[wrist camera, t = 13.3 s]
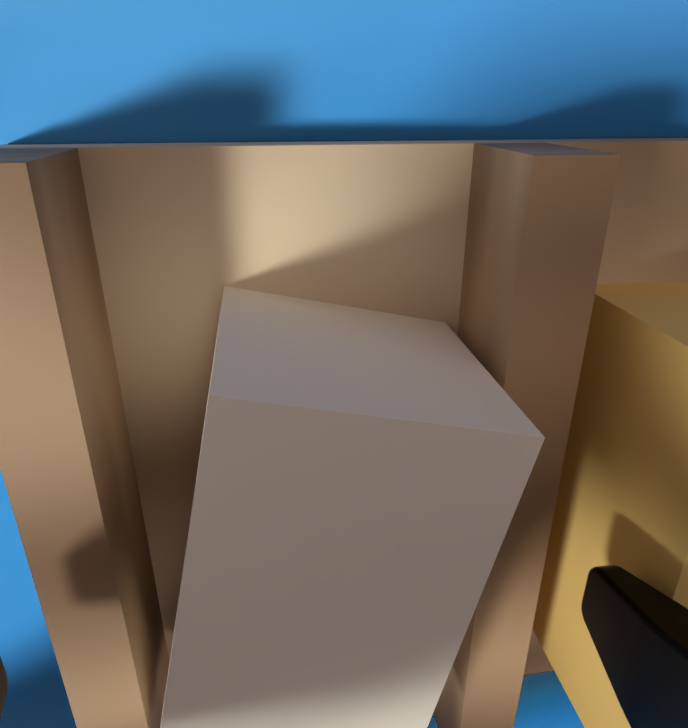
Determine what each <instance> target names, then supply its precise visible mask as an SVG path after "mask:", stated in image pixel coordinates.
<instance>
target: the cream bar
mask: <svg viewBox="0 0 688 728" xmlns="http://www.w3.org/2000/svg"><path fill="white" fill-rule="evenodd" d="M544 439H545V437H544V436H543V435H542V433H541V432H540V431H539V430H538V429H537V428H536V427H535V425H534V424H533V423H532V422H531V421H530V420H529V419H528V417H527V416H526V415H525V414H524V413H523V412H522V410H521V409H520V408H519V407H518V406H517V405H516V404H515V402H514V401H513V400H512V399H511V398H510V397H509V395H508V394H507V393H506V392H505V391H504V390H503V389H502V387H501V386H500V385H499V384H498V383H497V382H496V380H495V379H494V378H493V377H492V376H491V375H490V374H489V372H488V371H487V370H486V369H485V368H484V367H483V365H482V364H481V363H480V362H479V361H478V360H477V359H476V357H475V356H474V355H473V354H472V353H471V352H470V350H469V349H468V348H467V347H466V346H465V345H464V344H463V342H462V341H461V340H460V339H459V338H458V337H457V335H456V334H455V333H454V332H453V331H452V330H451V329H450V327H449V326H448V325H447V324H446V323H445V322H439V321H433V320H427V319H421V318H415V317H409V316H403V315H397V314H391V313H385V312H379V311H373V310H367V309H361V308H355V307H349V306H343V305H337V304H331V303H325V302H320V301H314V300H308V299H302V298H296V297H290V296H284V295H278V294H272V293H266V292H260V291H254V290H248V289H242V288H236V287H230V286H224V289H223V296H222V303H221V310H220V317H219V324H218V331H217V338H216V344H215V351H214V358H213V365H212V372H211V379H210V386H209V393H208V400H207V406H206V413H205V420H204V427H203V434H202V441H201V448H200V455H199V462H198V468H197V475H196V482H195V489H194V496H193V503H192V510H191V517H190V524H189V530H188V537H187V544H186V551H185V558H184V565H183V572H182V579H181V586H180V592H179V599H178V606H177V613H176V620H175V627H174V634H173V641H172V648H171V655H170V662H169V669H168V676H167V683H166V690H165V697H164V704H163V711H162V718H161V725H160V728H427V727H428V724H429V722H430V720H431V717H432V715H433V712H434V710H435V707H436V705H437V702H438V700H439V697H440V695H441V692H442V690H443V688H444V685H445V683H446V680H447V678H448V675H449V673H450V670H451V668H452V665H453V663H454V660H455V658H456V656H457V653H458V651H459V648H460V646H461V643H462V641H463V638H464V636H465V633H466V631H467V628H468V626H469V624H470V621H471V619H472V616H473V614H474V611H475V609H476V606H477V604H478V601H479V599H480V596H481V594H482V592H483V589H484V587H485V584H486V582H487V579H488V577H489V574H490V572H491V569H492V567H493V565H494V562H495V560H496V557H497V555H498V552H499V550H500V547H501V545H502V542H503V540H504V537H505V535H506V533H507V530H508V528H509V525H510V523H511V520H512V518H513V515H514V513H515V510H516V508H517V505H518V503H519V501H520V498H521V496H522V493H523V491H524V488H525V486H526V483H527V481H528V478H529V476H530V473H531V471H532V469H533V466H534V464H535V461H536V459H537V456H538V454H539V451H540V449H541V446H542V444H543V441H544Z"/></svg>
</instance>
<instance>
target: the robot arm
mask: <svg viewBox="0 0 688 728" xmlns="http://www.w3.org/2000/svg"><path fill="white" fill-rule="evenodd" d="M581 610H582V615H583V619H584V622H585V624H586V626H587V629H588V631H589V633H590V636H591V638H592V640H593V643H594V645H595V647H596V650H597V652H598V654H599V657H600V659H601V662H602V664H603V666H604V669H605V671H606V673H607V676H608V678H609V680H610V683H611V685H612V687H613V690H614V692H615V695H616V697H617V699H618V701H619V704H620V706H621V708H622V710H623V712H624V715H625V717H626V719H627V720H628V722H629V724H630V726H631V728H688V609H687V608H686V607H684V606H683V605H681V604H679V603H678V602H676V601H675V600H673V599H671V598H670V597H668V596H667V595H665V594H663V593H662V592H660V591H659V590H657V589H655V588H654V587H652V586H650V585H649V584H647V583H646V582H644V581H642V580H641V579H639V578H638V577H636V576H634V575H633V574H631V573H630V572H628V571H626V570H625V569H623V568H621V567H620V566H617V565H606V566H597V567H593V568H592V569H591V570H590V571H589V573H588V577H587V582H586V586H585V590H584V595H583V599H582V604H581ZM6 692H7V675H6V671H5V669H4V666H3V663H2V660H1V657H0V717H1V713H2V709H3V705H4V701H5V697H6Z"/></svg>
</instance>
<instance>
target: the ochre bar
mask: <svg viewBox="0 0 688 728" xmlns="http://www.w3.org/2000/svg"><path fill="white" fill-rule="evenodd" d="M606 565H617V566H620V567H621V568H623V569H625V570H626V571H628V572H630V573H631V574H633V575H634V576H636V577H638V578H639V579H641V580H642V581H644V582H646V583H647V584H649V585H650V586H652V587H654V588H655V589H657V590H659V591H660V592H662V593H663V594H665V595H667V596H668V597H670V598H671V599H673V600H675V601H676V602H678V603H679V604H681V605H683V606H684V607H686V608H687V609H688V281H674V282H644V283H614V284H597V286H596V291H595V297H594V302H593V307H592V313H591V318H590V323H589V329H588V334H587V339H586V345H585V350H584V355H583V361H582V366H581V371H580V377H579V382H578V387H577V393H576V398H575V403H574V409H573V414H572V419H571V425H570V430H569V435H568V441H567V446H566V451H565V457H564V462H563V467H562V473H561V478H560V483H559V489H558V494H557V499H556V505H555V510H554V515H553V521H552V526H551V531H550V537H549V542H548V547H547V553H546V558H545V563H544V569H543V574H542V579H541V585H540V590H539V595H538V601H537V606H536V611H535V617H534V622H533V627H532V629H533V631H534V633H535V635H536V637H537V639H538V641H539V643H540V645H541V646H542V648H543V650H544V652H545V654H546V656H547V658H548V660H549V662H550V663H551V665H552V667H553V669H554V671H555V673H556V675H557V677H558V678H559V680H560V682H561V684H562V686H563V688H564V690H565V692H566V694H567V695H568V697H569V699H570V701H571V703H572V705H573V707H574V709H575V710H576V712H577V714H578V716H579V718H580V720H581V722H582V724H583V726H584V727H585V728H631V726H630V724H629V722H628V720H627V719H626V717H625V715H624V712H623V710H622V708H621V706H620V704H619V701H618V699H617V697H616V695H615V692H614V690H613V687H612V685H611V683H610V680H609V678H608V676H607V673H606V671H605V669H604V666H603V664H602V662H601V659H600V657H599V654H598V652H597V650H596V647H595V645H594V643H593V640H592V638H591V636H590V633H589V631H588V629H587V626H586V624H585V622H584V619H583V615H582V610H581V604H582V599H583V595H584V590H585V586H586V582H587V577H588V573H589V571H590V570H591V569H592V568H593V567H597V566H606Z"/></svg>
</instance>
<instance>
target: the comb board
mask: <svg viewBox="0 0 688 728" xmlns="http://www.w3.org/2000/svg"><path fill="white" fill-rule="evenodd" d="M674 281H688V138H611V139H512V140H413V141H315V142H216V143H117V144H18V145H0V469H1V473H2V476H3V479H4V483H5V486H6V489H7V493H8V496H9V500H10V503H11V506H12V510H13V513H14V517H15V520H16V523H17V527H18V530H19V534H20V537H21V540H22V544H23V547H24V550H25V554H26V557H27V561H28V564H29V567H30V571H31V574H32V578H33V581H34V584H35V588H36V591H37V595H38V598H39V601H40V605H41V608H42V611H43V615H44V618H45V622H46V625H47V628H48V632H49V635H50V639H51V642H52V645H53V649H54V652H55V656H56V659H57V662H58V666H59V669H60V672H61V676H62V679H63V683H64V686H65V689H66V693H67V696H68V700H69V703H70V706H71V710H72V713H73V717H74V720H75V723H76V727H77V728H160V725H161V718H162V711H163V704H164V697H165V690H166V683H167V676H168V669H169V662H170V655H171V648H172V641H173V634H174V627H175V620H176V613H177V606H178V599H179V592H180V586H181V579H182V572H183V565H184V558H185V551H186V544H187V537H188V530H189V524H190V517H191V510H192V503H193V496H194V489H195V482H196V475H197V468H198V462H199V455H200V448H201V441H202V434H203V427H204V420H205V413H206V406H207V400H208V393H209V386H210V379H211V372H212V365H213V358H214V351H215V344H216V338H217V331H218V324H219V317H220V310H221V303H222V296H223V289H224V286H230V287H236V288H242V289H248V290H254V291H260V292H266V293H272V294H278V295H284V296H290V297H296V298H302V299H308V300H314V301H320V302H325V303H331V304H337V305H343V306H349V307H355V308H361V309H367V310H373V311H379V312H385V313H391V314H397V315H403V316H409V317H415V318H421V319H427V320H433V321H439V322H445V323H446V324H447V325H448V326H449V327H450V329H451V330H452V331H453V332H454V333H455V334H456V335H457V337H458V338H459V339H460V340H461V341H462V342H463V344H464V345H465V346H466V347H467V348H468V349H469V350H470V352H471V353H472V354H473V355H474V356H475V357H476V359H477V360H478V361H479V362H480V363H481V364H482V365H483V367H484V368H485V369H486V370H487V371H488V372H489V374H490V375H491V376H492V377H493V378H494V379H495V380H496V382H497V383H498V384H499V385H500V386H501V387H502V389H503V390H504V391H505V392H506V393H507V394H508V395H509V397H510V398H511V399H512V400H513V401H514V402H515V404H516V405H517V406H518V407H519V408H520V409H521V410H522V412H523V413H524V414H525V415H526V416H527V417H528V419H529V420H530V421H531V422H532V423H533V424H534V425H535V427H536V428H537V429H538V430H539V431H540V432H541V433H542V435H543V436H544V437H545V439H544V441H543V444H542V446H541V449H540V451H539V454H538V456H537V459H536V461H535V464H534V466H533V469H532V471H531V473H530V476H529V478H528V481H527V483H526V486H525V488H524V491H523V493H522V496H521V498H520V501H519V503H518V505H517V508H516V510H515V513H514V515H513V518H512V520H511V523H510V525H509V528H508V530H507V533H506V535H505V537H504V540H503V542H502V545H501V547H500V550H499V552H498V555H497V557H496V560H495V562H494V565H493V567H492V569H491V572H490V574H489V577H488V579H487V582H486V584H485V587H484V589H483V592H482V594H481V596H480V599H479V601H478V604H477V606H476V609H475V611H474V614H473V616H472V619H471V621H470V624H469V626H468V628H467V631H466V633H465V636H464V638H463V641H462V643H461V646H460V648H459V651H458V653H457V656H456V658H455V660H454V663H453V665H452V668H451V670H450V673H449V675H448V678H447V680H446V683H445V685H444V688H443V690H442V692H441V695H440V697H439V700H438V702H437V705H436V707H435V710H434V715H435V719H436V722H437V725H438V728H514V723H515V718H516V713H517V707H518V702H519V697H520V691H521V686H522V681H523V675H527V674H534V673H541V672H548V671H554V669H553V667H552V665H551V663H550V662H549V660H548V658H547V656H546V654H545V652H544V650H543V648H542V646H541V645H540V643H539V641H538V639H537V637H536V635H535V633H534V631H533V629H532V627H533V622H534V617H535V611H536V606H537V601H538V595H539V590H540V585H541V579H542V574H543V569H544V563H545V558H546V553H547V547H548V542H549V537H550V531H551V526H552V521H553V515H554V510H555V505H556V499H557V494H558V489H559V483H560V478H561V473H562V467H563V462H564V457H565V451H566V446H567V441H568V435H569V430H570V425H571V419H572V414H573V409H574V403H575V398H576V393H577V387H578V382H579V377H580V371H581V366H582V361H583V355H584V350H585V345H586V339H587V334H588V329H589V323H590V318H591V313H592V307H593V302H594V297H595V291H596V286H597V284H614V283H644V282H674Z"/></svg>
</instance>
